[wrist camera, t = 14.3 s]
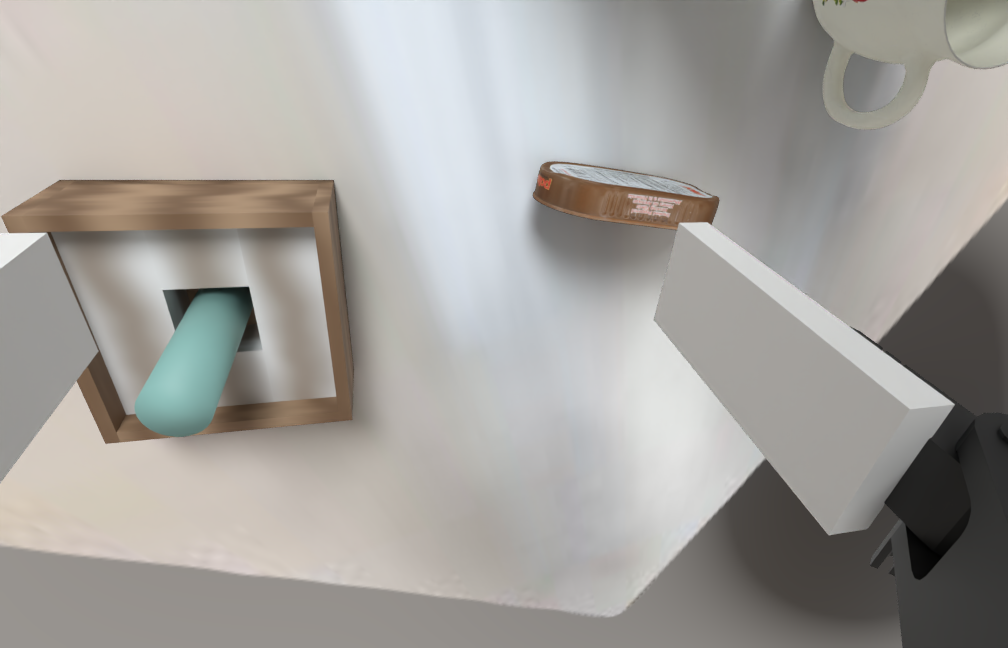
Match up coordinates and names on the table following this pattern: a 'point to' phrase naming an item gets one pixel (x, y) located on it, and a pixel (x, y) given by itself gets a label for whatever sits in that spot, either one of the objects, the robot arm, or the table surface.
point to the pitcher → (907, 45)
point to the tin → (622, 196)
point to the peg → (195, 363)
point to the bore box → (204, 264)
